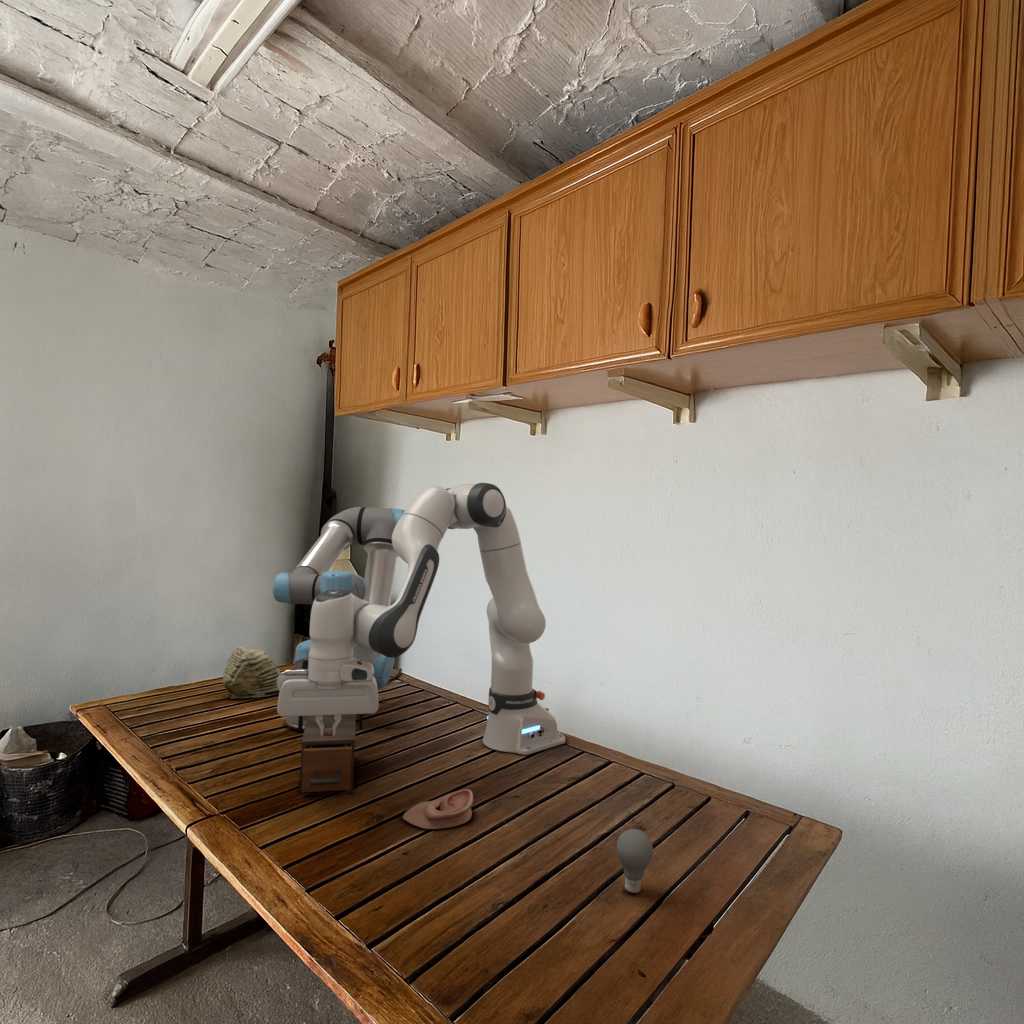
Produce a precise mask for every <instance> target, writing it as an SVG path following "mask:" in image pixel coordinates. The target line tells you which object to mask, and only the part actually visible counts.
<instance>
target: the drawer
mask: <svg viewBox="0 0 1024 1024" xmlns="http://www.w3.org/2000/svg"><path fill="white" fill-rule="evenodd" d="M351 757H352V747H348V744H335V745H312V746H309V748H308V749H304V750H303V769H302V792H301V793H316V792H335V791H349V790H350V791H351V789H350V783H351Z"/></svg>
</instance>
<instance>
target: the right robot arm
mask: <svg viewBox="0 0 1024 1024" xmlns="http://www.w3.org/2000/svg"><path fill="white" fill-rule="evenodd" d="M404 510H405V511H404V513H403V514H402V516H401V517H400V519H399V521H398V522H397V524H396V526H395V528H394V531H393V534H392V544H393V547H394V550H395V551H396V553H397V554H398V555H399V557H400V559H402V560H403V561H404V562H405V564H407V566H408V570H407V574H406V576H405V579H404V582H403V584H402V586H401V589H400V591H399V594H398V596H397V598H396V600H395V602H394V603H392V604H390V606H388V607H387V606H382V605H378V604H375V603H370V602H368V601H365V600H362V599H360V598H358V597H356V596H354V595H353V594H352V593H351V592H350V591H349V590H345V589H335V590H328V591H325V592H322V593H320V594H319V595H317V596H316V598H315V600H314V602H313V604H311V610H310V617H309V618H310V619H309V620H310V621H309V638H310V640H311V648H310V651H309V663H308V669H299V670H294V669H285V671H282V672H281V673H280V674H279V676H278V678H277V688H278V690H279V691H280V694H278V698H277V705H276V707H277V708H276V712H277V714H278V715H279V716H280V717H281V718H286V717H288V716H316V722H317V724H318V725H319V727H320V728H321V736H335V731H336V727H337V725H338V724H339V722H340V721H341V715H346V714H356V715H360V714H363V715H368V714H369V715H372V714H373V715H374V714H376V713H377V711H378V710H379V708H380V707H379V705H380V704H379V702H380V700H379V689H377V682H376V679H375V678H374V677H373V675H374V668H373V665H372V664H371V663H369V662H366V661H362V660H359V659H356V658H353V648H354V647H356V646H360V647H363V648H366V649H369V650H373V651H375V652H377V653H380V654H382V655H384V656H386V657H391V658H392V657H394V658H397V657H400V656H402V655H403V654H404V653H406V652H407V651H408V650H410V648H411V646H412V645H413V644H414V642H415V640H416V636H417V632H418V629H419V628H418V626H419V623H420V618H421V615H422V612H423V610H424V607H425V604H426V602H427V599H428V597H429V594H430V591H431V589H432V586H433V583H434V581H435V578H436V575H437V572H438V570H439V566H440V554H439V552H438V551H439V547H440V545H441V542H442V540H443V538H444V537H445V535H446V533H447V531H448V530H456V529H457V530H470V529H473V530H474V531H475V533H476V535H477V541H478V548H479V549H478V550H479V553H480V558H481V564H482V567H483V568H482V569H483V572H484V578H485V581H486V583H487V585H488V587H489V590H490V593H491V595H492V597H491V598H490V600H489V601H488V603H487V606H486V616H487V620H488V632H489V643H490V652H491V653H490V654H491V672H490V673H491V674H490V675H491V676H490V687H489V688H488V703H487V705H488V715H487V717H486V720H487V722H486V726H485V730H484V733H483V737H482V744H483V745H484V746H486V747H487V748H489V749H491V750H495V751H499V752H504V753H515V754H519V755H524V756H528V755H531V754H534V753H535V754H536V753H538V752H542V751H544V750H548V749H550V748H554V747H557V746H560V745H564V744H565V743H566V737H565V735H564V734H563V733H562V732H561V731H559V730H558V723H557V720H556V717H555V716H554V715H553V714H552V713H551V712H550V711H549V708H547V707H544V706H542V704H540V703H539V702H538V700H539V701H544V700H545V699H546V694H545V692H543V691H541V690H538V691H537V690H536V689H534V688H533V681H534V658H533V655H532V651H531V645H530V644H532V643H534V642H536V641H538V640H539V639H540V638H541V637H542V636H543V634H544V633H545V631H546V625H547V622H546V617H545V614H544V613H543V611H542V609H541V606H540V604H539V601H538V598H537V595H536V592H535V589H534V587H533V584H532V582H531V578H530V575H529V573H528V569H527V566H526V560H525V555H524V551H523V546H522V545H523V544H522V540H521V536H520V533H519V529H518V525H517V523H516V520H515V518H514V515H513V512H512V510H511V508H509V506H507V503H506V497H505V496H504V494H503V492H502V491H501V489H500V487H498V486H497V485H495V484H493V483H489V482H478V483H465V484H461V485H458V486H455V487H452V488H451V487H449V488H444V487H442V486H440V485H435V484H434V485H432V484H431V485H427V486H424V487H423V488H422V489H420V491H419V492H418V493H417V494H416V495H415V496H414V497H413V499H412V500H411V501H410V503H409V504H408V505H407V507H406V508H405V509H404ZM323 715H334V720H335V721H334V723H333V725H324V723H323V721H322V720H323ZM557 732H559V733H557ZM560 733H561V734H560Z"/></svg>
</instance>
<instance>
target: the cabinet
mask: <svg viewBox="0 0 1024 1024" xmlns="http://www.w3.org/2000/svg"><path fill="white" fill-rule="evenodd" d="M322 721H323V723H324V725H333V723H334V721H335V720H334V715H323V720H322ZM356 726H357V714H346V715H341V721H340V722H339V724H338V725H337V727H336V731H335V736H321V728H320V727H319V725H318V724H317V722H316V716H308V718H307V722H306V726H305V730H304V732H303V734H302V738H301V747H300V748H301V749H300V771H299V772H300V773H299V792H300V793H302V769H303V750H304V749H308V748H309V746H312V745H335V744H348V747H352V757H351V783H350V790H353V789H354V776H355V775H354V774H355V754H356V753H355V751H356Z"/></svg>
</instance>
